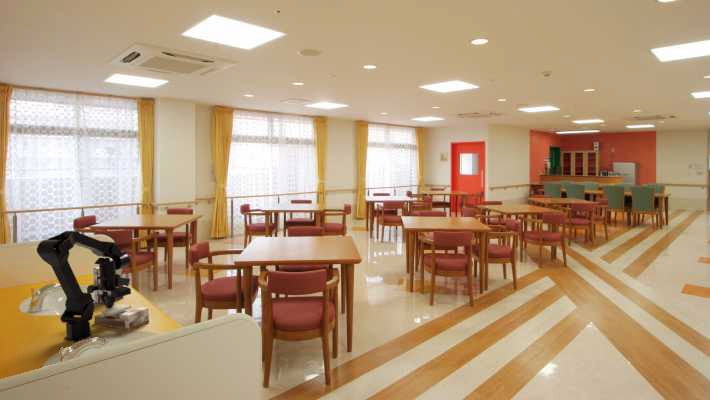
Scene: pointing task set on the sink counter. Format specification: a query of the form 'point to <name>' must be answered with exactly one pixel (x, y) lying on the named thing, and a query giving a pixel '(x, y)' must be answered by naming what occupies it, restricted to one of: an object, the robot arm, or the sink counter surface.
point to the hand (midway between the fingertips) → (110, 310)
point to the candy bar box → (97, 273)
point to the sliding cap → (115, 310)
